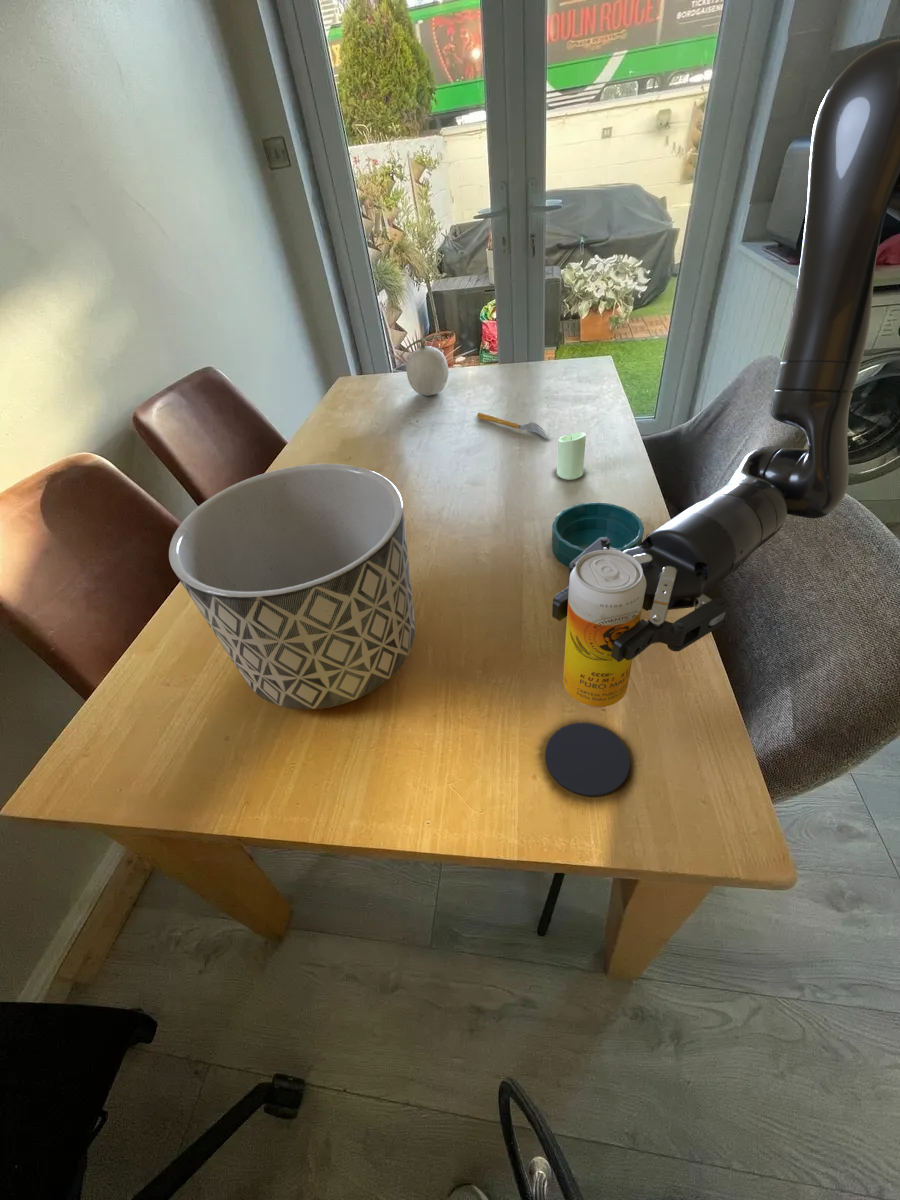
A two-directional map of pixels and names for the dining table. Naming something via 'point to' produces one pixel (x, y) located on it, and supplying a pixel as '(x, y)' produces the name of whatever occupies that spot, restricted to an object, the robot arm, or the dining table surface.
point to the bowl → (594, 529)
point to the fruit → (427, 369)
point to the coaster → (587, 759)
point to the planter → (303, 581)
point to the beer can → (600, 625)
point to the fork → (512, 423)
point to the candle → (571, 456)
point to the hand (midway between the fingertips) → (584, 631)
